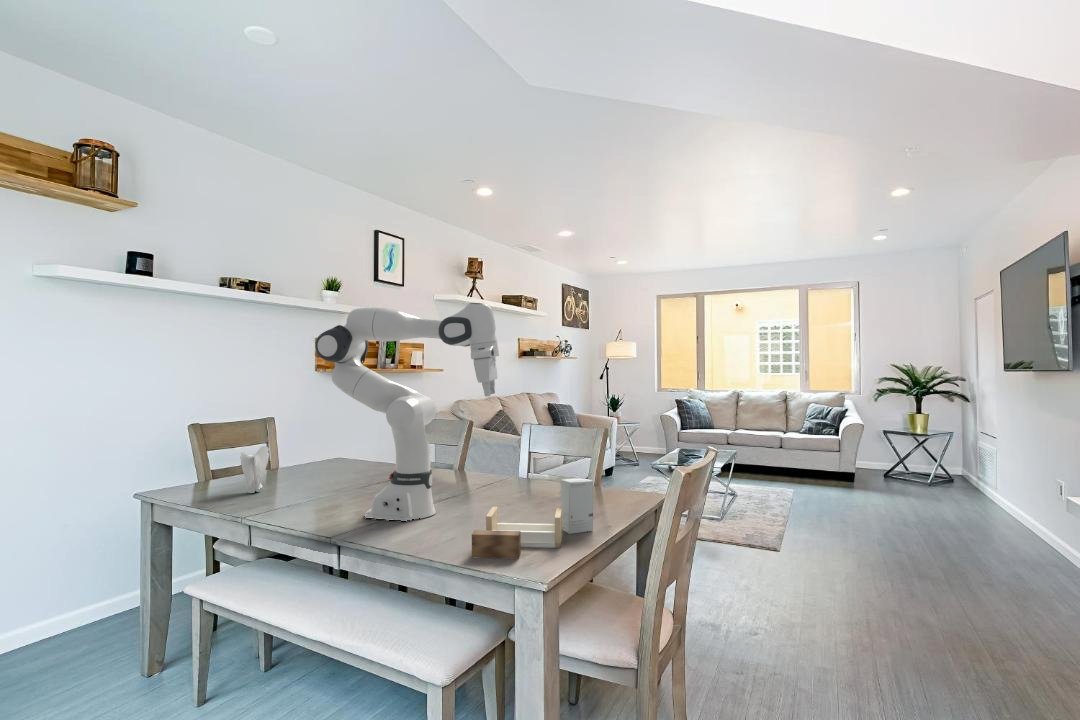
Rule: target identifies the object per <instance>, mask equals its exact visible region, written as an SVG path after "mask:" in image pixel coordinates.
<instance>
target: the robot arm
mask: <svg viewBox="0 0 1080 720" xmlns="http://www.w3.org/2000/svg"><path fill="white" fill-rule="evenodd" d="M494 316H495V315H494V312H493V309H492V307H491V306H490V305H489V304H487V303H482V302H470V303H467V304H466V305H465V307H464V308H462V309H461V310H460V311H458V312H456V313H454V314H452V315H449V316H448V317H446V318H444V319H442V320H438V319H437V320H436V319H426V318H422V317H418V316H415V315H411V314H409V313H406V312H403V311H399V310H395V309H391V308H386V307H360V308H355V309H352V310H351V311H350V312H349V313H348V314H347V317H346V323H345V324H344V326H343V325H341V324H338V325H336V326H334V327H332V328H330V329H328V330H325V331H323V332H322V333H320V334H319V335H318V336H317V338H316V340H315V344H314V347H315V348H314V349H315V352H316V353H317V354H316V355H318V357H320V358H321V359H322V360H324V361H326V362H329V363H334V368H333V370H332V372H331V381H332V383H333V384H334V385H335V386H336V387H337V388H338V389H339V390H340V391H341V392H343V393H344V394H346V395H347V396H349V397H351V398H352V399H354V400H356V401H358V402H359V403H361V404H362V405H365V406H366V407H368V408H370V409H372V410H373V411H376V412H380V413H383V414H385V418H386V422H387V423H388V425H389V426H390V428H391V432H392V436H393V441H394V446H395V447H394V448H395V470H393V471H392V473H391V474H389V475H388V479H389V480H390V483H389V484H387V485H386V486H385V487H384V488H382V489H381V490H380V491H379V492H378V493H376V495H375V496H374V497H373V500H372V503H371V507H370V508H369V509H368V510H366V511H365V513H364V516H365V517H373V518H382V519H393V520H401V521H406V522H408V521H407V520H410V521H413V520H412V519H414V520H419V518H420V519H425V518H429V517H431V516H433V515H435V514H436V508H435V505H434V500H433V494H432V485H433V473H432V472H433V471H432V469H431V445H430V443H429V441H428V438H427V433H426V428H425V426H427V425H429V424H431V422H432V421H433V420H434V418H435V417H436V415H437V412H438V411H437V410H438V409H437V404H436V402H435V401H434V399H433V398H432V397H430V396H428V395H425V394H423V393H420V392H419V391H416V390H415V389H412V388H410V387H407V386H405V385H402V384H399V383H397V382H394V381H392V379H391V380H390V379H389V378H387V377H386V376H383V375H382V374H380V373H377V372H376V371H374V370H373V369H370V368H368V367H367V366H365V365H363V364H364V363H365V361H366V356H367V354H368V351H369V348H370V347H369V341H376V342H397V341H404V340H411V339H419V338H421V339H422V338H428V339H438V340H439V339H440V340H441V341H442V343H444V344H446V345H449V346H453V347H455V346H457V347H469V348H470V359H471V360H473V367H474V372H475V377H476V380H477V382H478V384H481V385H482V389H483V393H484V394H483V395H484V396H485V397H486V398H487V397H490V396H491V395H494V394H496V386H495V385H496V383H495V380H497V379H498V369H497V362H496V361H497V359H496V357H499V356H500V353H499V346H498V339H497V336H496V329H497V327H496V321H495V317H494ZM365 517H364V518H365ZM401 521H400V522H401Z"/></svg>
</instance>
